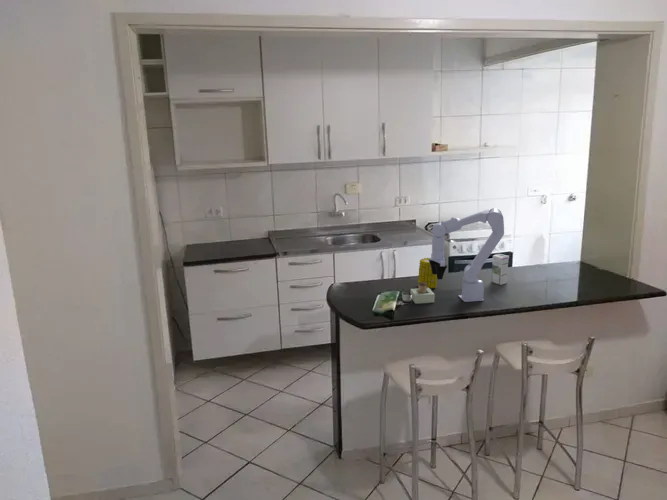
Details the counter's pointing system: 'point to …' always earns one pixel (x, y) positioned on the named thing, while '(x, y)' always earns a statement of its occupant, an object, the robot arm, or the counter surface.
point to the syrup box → (499, 269)
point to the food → (427, 274)
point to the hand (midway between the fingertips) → (437, 276)
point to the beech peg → (422, 288)
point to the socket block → (422, 296)
